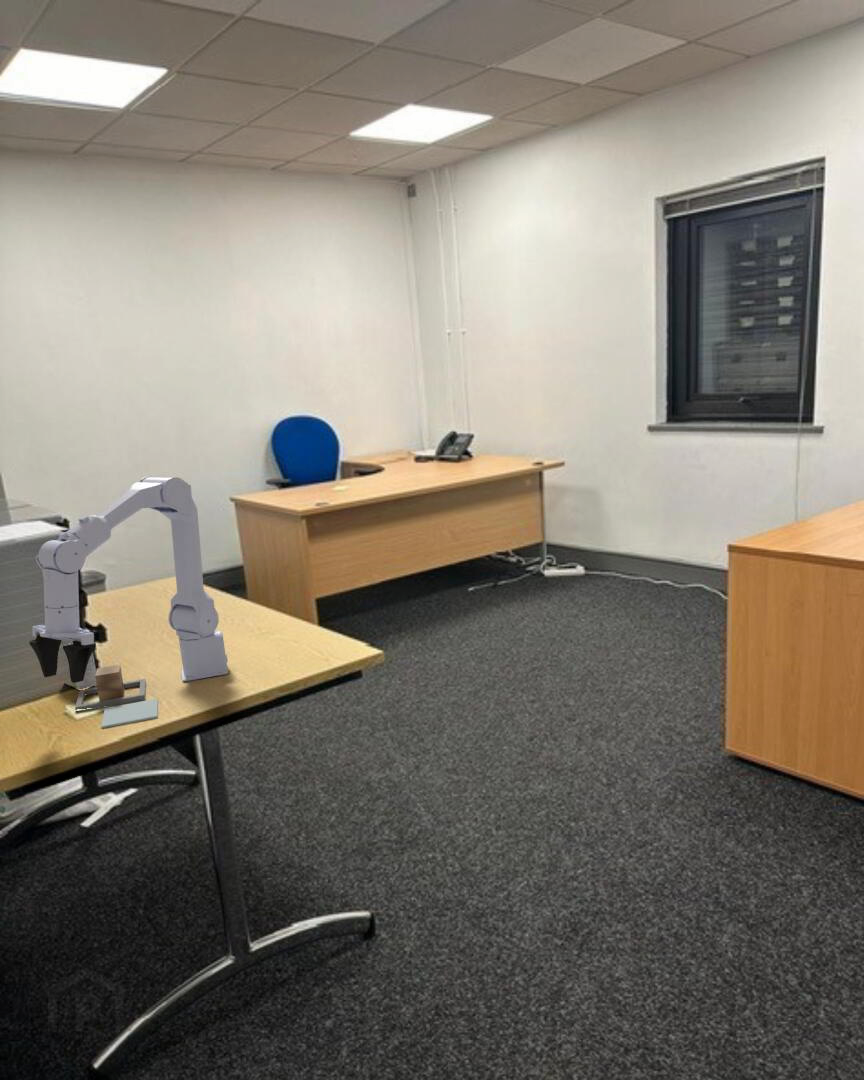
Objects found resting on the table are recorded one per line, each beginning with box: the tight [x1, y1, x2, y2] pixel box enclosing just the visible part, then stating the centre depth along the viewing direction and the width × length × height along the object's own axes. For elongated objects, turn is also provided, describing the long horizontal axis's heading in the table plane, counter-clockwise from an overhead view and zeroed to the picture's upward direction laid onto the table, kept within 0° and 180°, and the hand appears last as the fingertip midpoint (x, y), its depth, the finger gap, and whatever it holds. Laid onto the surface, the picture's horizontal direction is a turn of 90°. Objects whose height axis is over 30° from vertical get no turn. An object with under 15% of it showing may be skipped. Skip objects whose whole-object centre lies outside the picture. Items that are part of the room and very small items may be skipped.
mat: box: [101, 698, 159, 729], centre depth 152 cm, size 10×9×1 cm
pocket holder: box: [74, 678, 147, 711], centre depth 161 cm, size 13×10×1 cm
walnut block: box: [95, 664, 125, 701], centre depth 161 cm, size 4×4×6 cm
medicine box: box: [76, 651, 97, 689], centre depth 168 cm, size 8×4×9 cm, turn 48°
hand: (63, 678), depth 144 cm, fingers open, 7 cm apart
